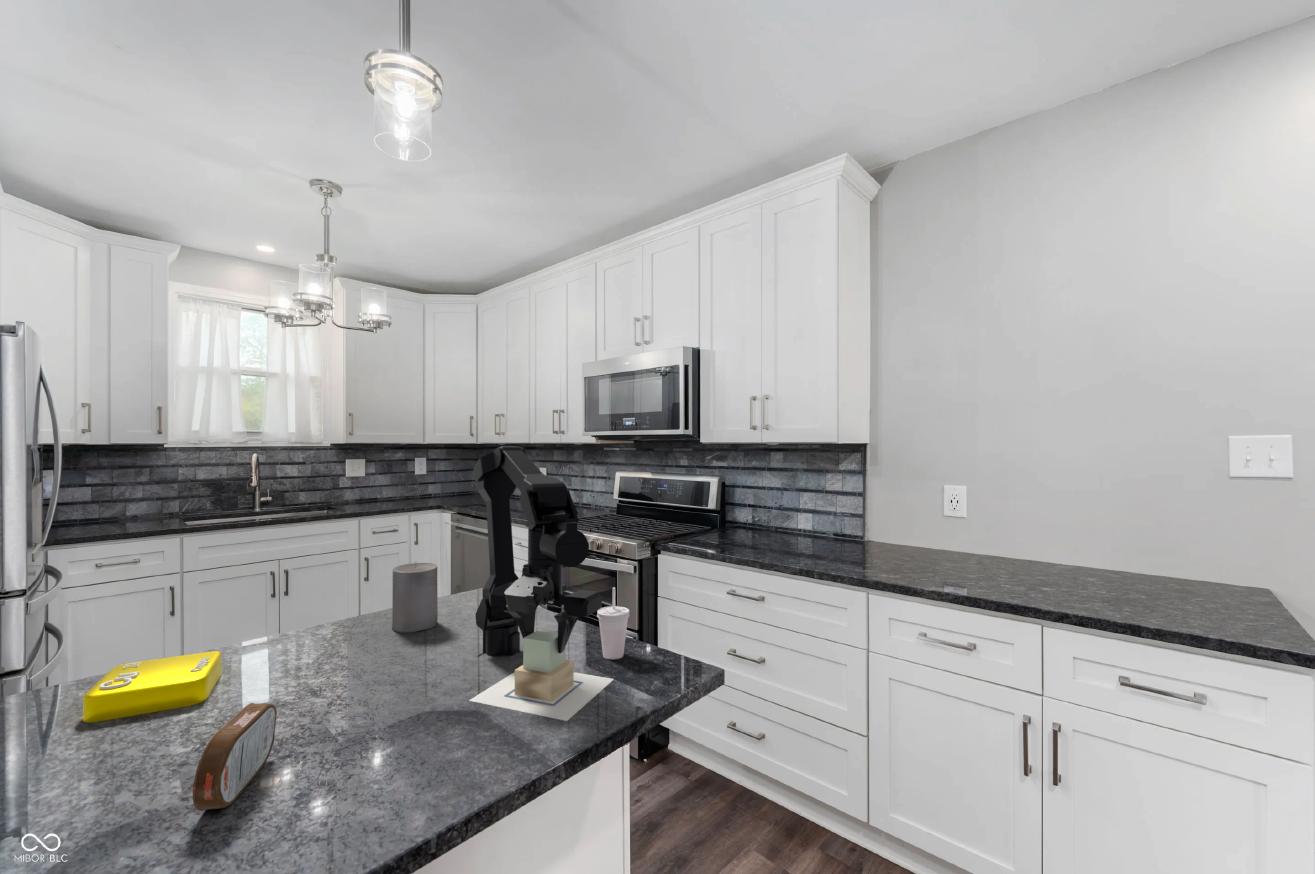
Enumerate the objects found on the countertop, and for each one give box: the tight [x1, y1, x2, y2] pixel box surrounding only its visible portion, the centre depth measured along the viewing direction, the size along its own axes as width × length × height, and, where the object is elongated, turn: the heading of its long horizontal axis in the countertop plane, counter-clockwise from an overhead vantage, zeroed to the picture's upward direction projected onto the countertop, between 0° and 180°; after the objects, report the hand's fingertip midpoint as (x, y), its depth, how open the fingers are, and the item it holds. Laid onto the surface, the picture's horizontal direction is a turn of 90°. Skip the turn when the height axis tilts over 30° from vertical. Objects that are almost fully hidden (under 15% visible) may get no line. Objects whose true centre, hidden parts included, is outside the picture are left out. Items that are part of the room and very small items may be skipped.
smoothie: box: [596, 586, 631, 660], centre depth 109 cm, size 6×6×14 cm
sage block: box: [522, 628, 566, 673], centre depth 93 cm, size 5×5×5 cm
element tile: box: [82, 650, 223, 724], centre depth 93 cm, size 15×15×5 cm
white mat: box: [468, 671, 614, 722], centre depth 93 cm, size 18×16×1 cm
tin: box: [192, 702, 278, 812], centre depth 68 cm, size 15×3×8 cm, turn 13°
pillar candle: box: [391, 561, 439, 634], centre depth 129 cm, size 10×10×15 cm
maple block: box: [514, 658, 575, 702], centre depth 93 cm, size 7×7×4 cm
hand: (544, 650), depth 93 cm, fingers open, 6 cm apart
